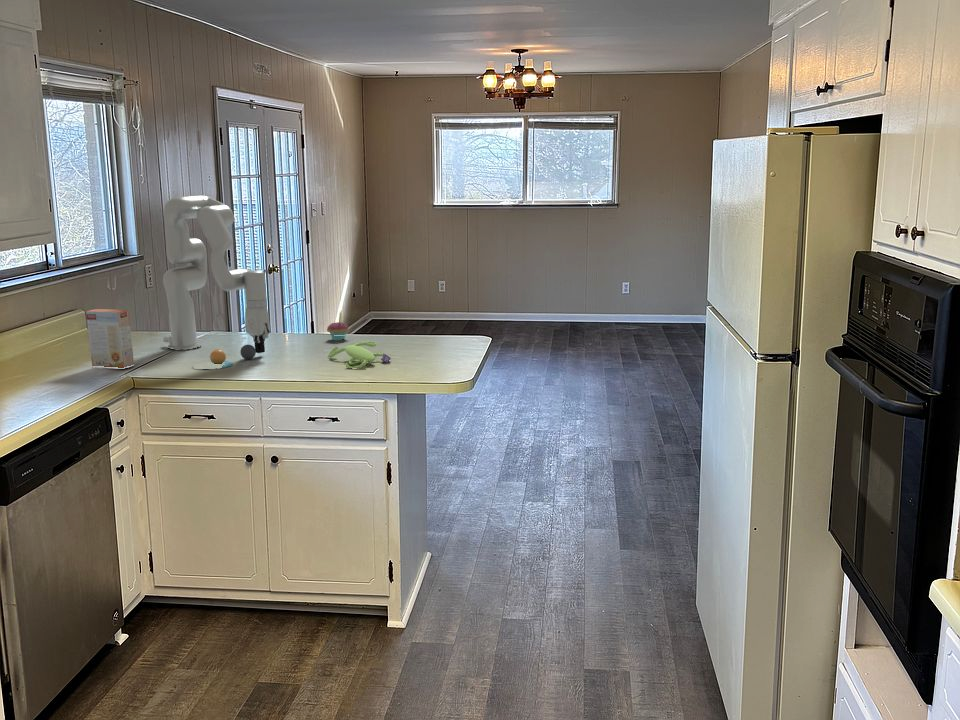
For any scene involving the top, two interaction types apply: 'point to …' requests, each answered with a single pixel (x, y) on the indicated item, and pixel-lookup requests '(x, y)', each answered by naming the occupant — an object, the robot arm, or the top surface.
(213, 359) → the object ball
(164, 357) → the top surface
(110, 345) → the cracker box
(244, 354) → the dark gray ball
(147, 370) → the top surface
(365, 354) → the figurine
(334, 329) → the cupcake
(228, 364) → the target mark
